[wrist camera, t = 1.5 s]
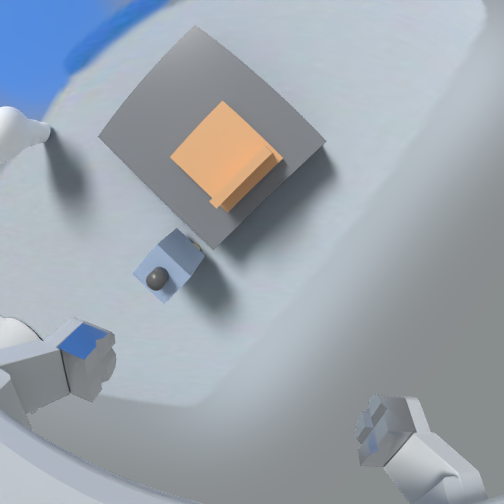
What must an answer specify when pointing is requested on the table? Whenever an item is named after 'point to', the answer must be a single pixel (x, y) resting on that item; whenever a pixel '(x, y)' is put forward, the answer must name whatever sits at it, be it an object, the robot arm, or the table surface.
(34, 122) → the lightbulb
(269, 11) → the table surface
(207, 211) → the socket block
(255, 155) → the panel
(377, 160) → the table surface
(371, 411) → the robot arm
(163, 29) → the table surface
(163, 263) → the plug
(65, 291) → the table surface
